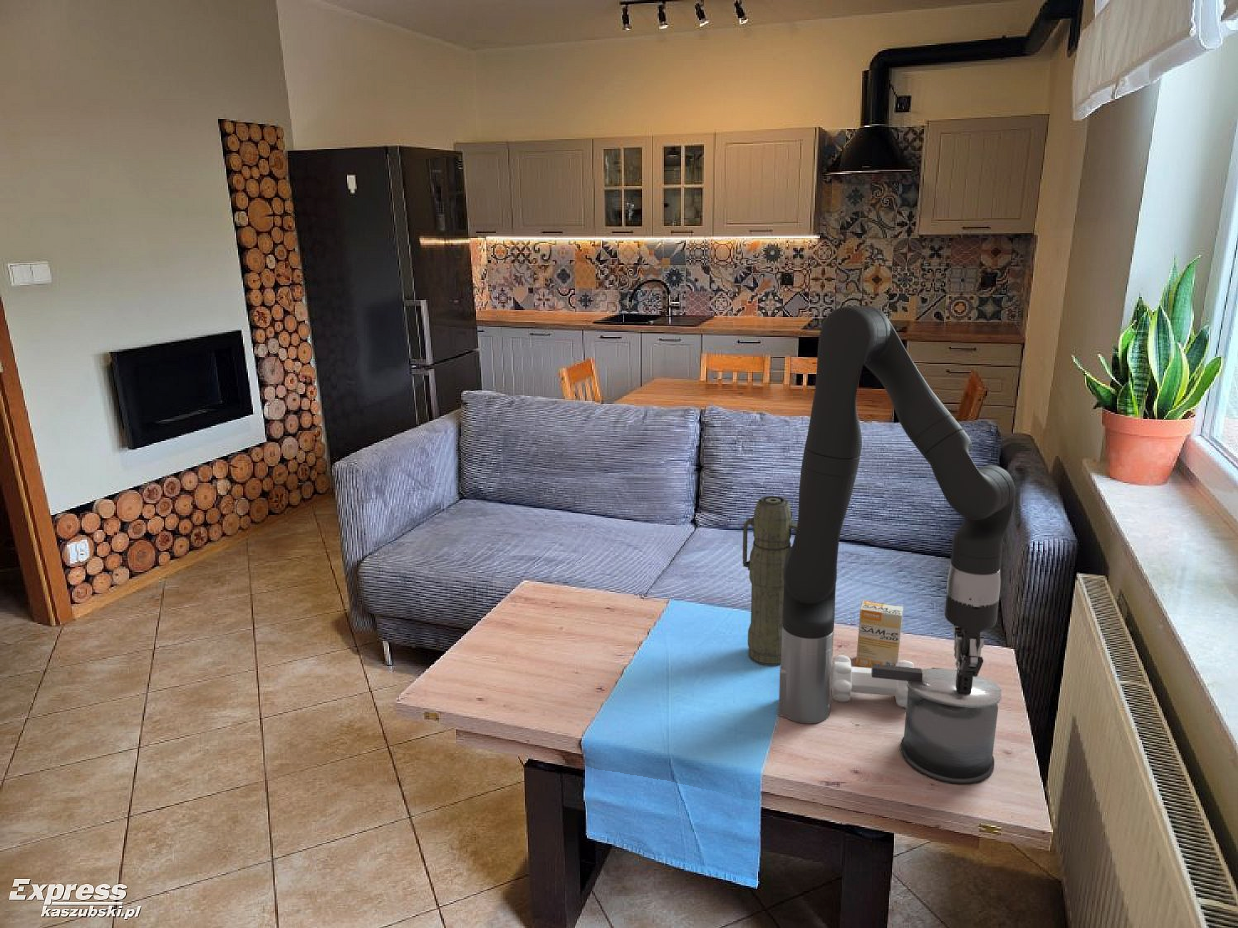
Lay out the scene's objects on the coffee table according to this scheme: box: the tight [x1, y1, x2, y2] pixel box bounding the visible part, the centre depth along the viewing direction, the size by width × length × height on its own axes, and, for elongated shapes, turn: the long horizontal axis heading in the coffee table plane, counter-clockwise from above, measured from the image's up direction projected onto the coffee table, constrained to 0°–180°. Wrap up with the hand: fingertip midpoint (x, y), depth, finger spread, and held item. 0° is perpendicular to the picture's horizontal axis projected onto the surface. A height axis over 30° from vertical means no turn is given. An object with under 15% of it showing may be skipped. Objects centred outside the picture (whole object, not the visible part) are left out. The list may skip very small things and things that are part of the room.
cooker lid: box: [871, 664, 1003, 708], centre depth 136 cm, size 20×15×3 cm
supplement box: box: [855, 600, 904, 668], centre depth 166 cm, size 8×5×13 cm, turn 68°
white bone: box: [831, 654, 915, 709], centre depth 155 cm, size 15×9×8 cm, turn 78°
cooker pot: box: [900, 689, 999, 786], centre depth 137 cm, size 15×16×11 cm
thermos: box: [742, 495, 798, 668], centre depth 167 cm, size 9×12×35 cm
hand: (963, 691), depth 131 cm, fingers closed
